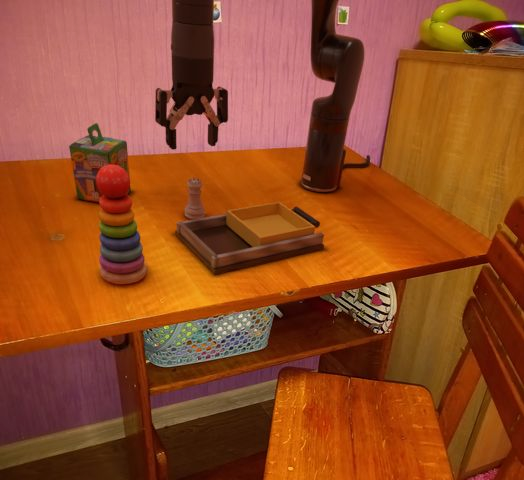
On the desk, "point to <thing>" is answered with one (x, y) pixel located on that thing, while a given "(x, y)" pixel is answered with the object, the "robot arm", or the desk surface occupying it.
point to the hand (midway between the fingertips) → (192, 146)
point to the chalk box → (95, 161)
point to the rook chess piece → (194, 200)
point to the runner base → (237, 245)
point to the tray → (270, 223)
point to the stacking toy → (118, 229)
